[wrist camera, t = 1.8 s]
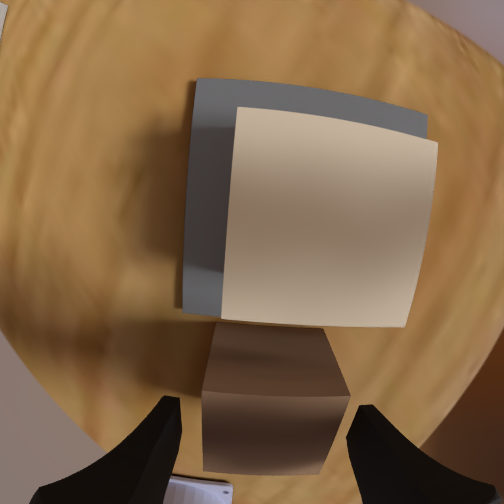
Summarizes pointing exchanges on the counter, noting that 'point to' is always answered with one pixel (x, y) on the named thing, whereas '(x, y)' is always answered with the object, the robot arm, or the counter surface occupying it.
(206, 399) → the walnut block
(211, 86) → the mat
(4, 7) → the small box
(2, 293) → the counter surface
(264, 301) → the maple block
